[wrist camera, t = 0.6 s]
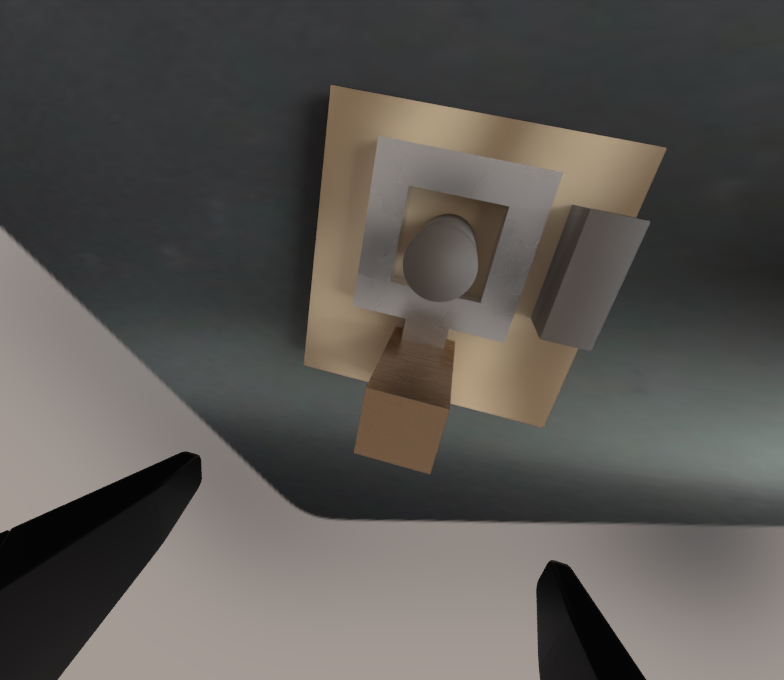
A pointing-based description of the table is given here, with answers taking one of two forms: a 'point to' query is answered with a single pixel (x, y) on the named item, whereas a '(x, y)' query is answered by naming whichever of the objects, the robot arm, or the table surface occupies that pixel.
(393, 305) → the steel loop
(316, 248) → the maple peg board
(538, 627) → the robot arm
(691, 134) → the table surface
